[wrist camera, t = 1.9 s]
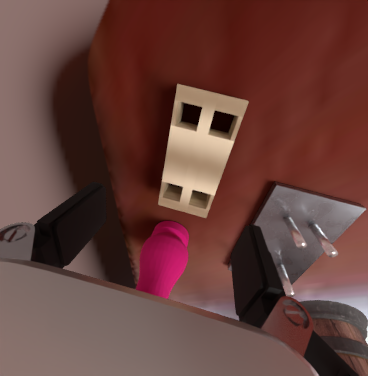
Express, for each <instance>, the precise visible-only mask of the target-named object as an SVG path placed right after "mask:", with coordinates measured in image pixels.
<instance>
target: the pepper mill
mask: <svg viewBox="0 0 368 376" xmlns="http://www.w3.org/2000/svg"><path fill="white" fill-rule="evenodd" d="M188 240H189V234H188V232H187V230H186V229H185V227H183V226H182V225H181V224H179V223H177V222H174V221H163V222H160V223H159V224H157V225H156V227H155V228H154V231H153V233H152V236H151V237H149V238H148V239H147V240H146V241H145V243H144V245H143V247H142V250H141V254H140V275H139V281H138V284H137V287H136V290H138V291H142V292H145V293H149V294H152V295H155V296H159V297H162V298H166V299H168V297H169V294H170V292H171V290H172V288H173V286H174V284H175V283H176V281H177V280H178V279H179V277H180V276H181V275H182V273H183V271H184V269H185V267H186V264H187V261H188V251H187V245H188Z"/></svg>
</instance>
